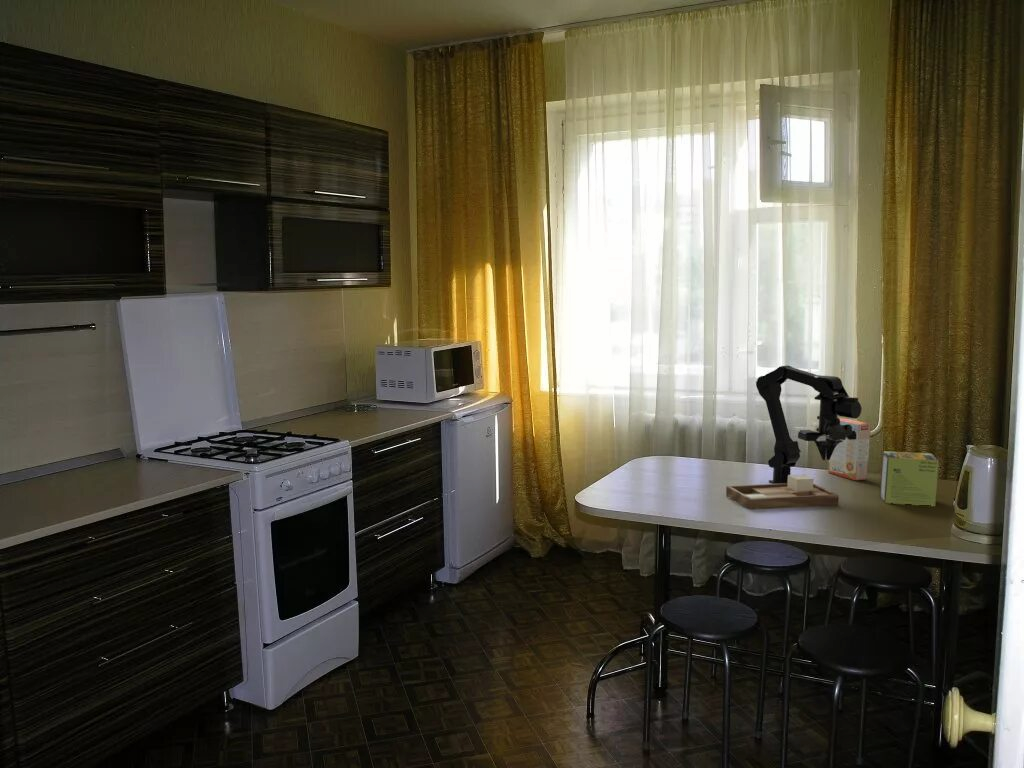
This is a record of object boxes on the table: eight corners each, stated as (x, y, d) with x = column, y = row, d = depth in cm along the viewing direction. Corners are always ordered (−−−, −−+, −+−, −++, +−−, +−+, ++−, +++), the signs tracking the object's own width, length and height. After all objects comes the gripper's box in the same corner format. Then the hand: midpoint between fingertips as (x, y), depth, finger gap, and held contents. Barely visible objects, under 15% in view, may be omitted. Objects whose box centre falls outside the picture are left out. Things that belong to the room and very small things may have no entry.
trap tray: (726, 495, 289) (726, 485, 289) (810, 491, 296) (810, 482, 295) (749, 509, 273) (750, 499, 272) (838, 504, 279) (838, 495, 279)
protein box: (936, 506, 278) (939, 459, 276) (884, 503, 281) (888, 457, 279) (928, 498, 288) (931, 453, 286) (879, 495, 291) (882, 450, 289)
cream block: (787, 486, 292) (787, 475, 291) (803, 485, 293) (804, 474, 293) (796, 491, 286) (797, 479, 285) (812, 490, 287) (813, 478, 287)
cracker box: (868, 480, 312) (871, 423, 309) (855, 481, 310) (858, 424, 307) (840, 471, 325) (843, 416, 322) (827, 472, 323) (830, 417, 320)
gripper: (816, 419, 278) (813, 466, 280) (868, 417, 282) (865, 464, 284) (798, 413, 289) (795, 458, 291) (848, 412, 293) (845, 456, 295)
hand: (825, 459), depth 290 cm, fingers closed
